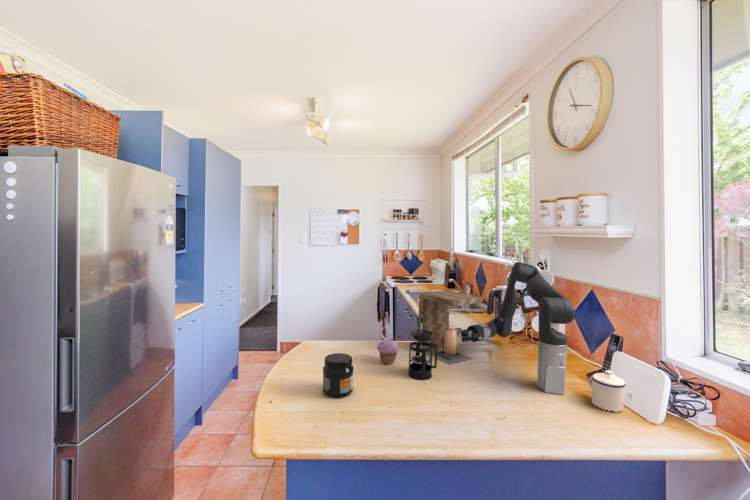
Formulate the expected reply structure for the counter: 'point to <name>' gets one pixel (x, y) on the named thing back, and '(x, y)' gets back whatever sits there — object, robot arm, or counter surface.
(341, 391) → the supplement container
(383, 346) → the cupcake
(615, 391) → the teacup with lid
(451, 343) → the canister
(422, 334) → the french press
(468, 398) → the counter surface
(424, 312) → the wooden side table
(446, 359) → the grey square plate
